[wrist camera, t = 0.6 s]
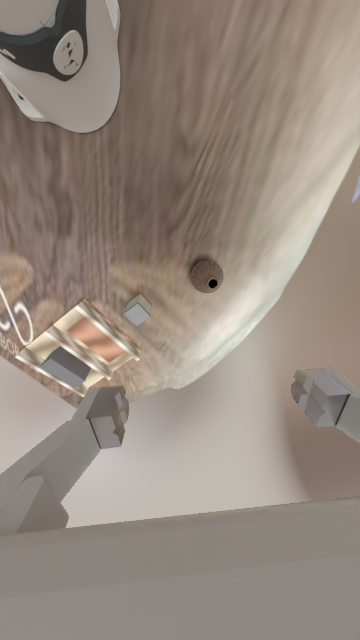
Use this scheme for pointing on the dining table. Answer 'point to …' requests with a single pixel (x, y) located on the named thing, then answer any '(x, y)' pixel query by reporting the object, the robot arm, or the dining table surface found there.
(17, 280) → the dining table surface
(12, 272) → the dining table surface
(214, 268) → the vase
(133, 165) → the dining table surface
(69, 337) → the rack
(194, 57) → the dining table surface
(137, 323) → the grey rectangular block
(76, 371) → the charcoal block
